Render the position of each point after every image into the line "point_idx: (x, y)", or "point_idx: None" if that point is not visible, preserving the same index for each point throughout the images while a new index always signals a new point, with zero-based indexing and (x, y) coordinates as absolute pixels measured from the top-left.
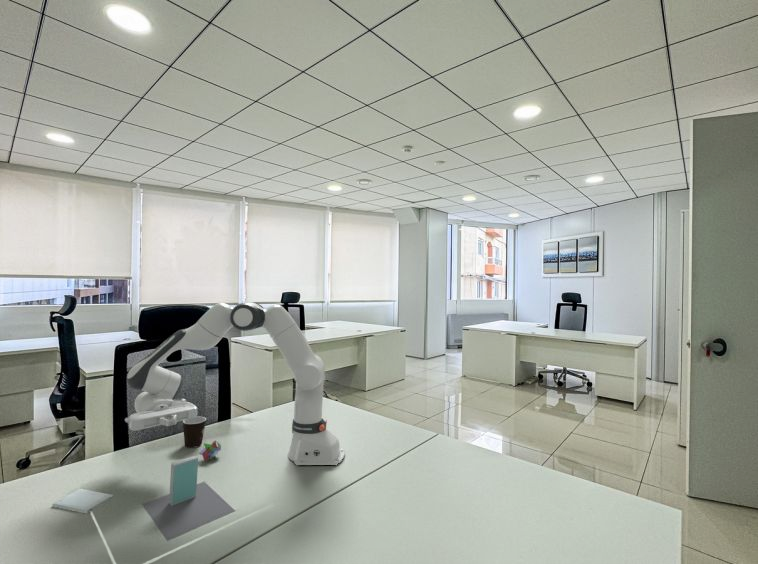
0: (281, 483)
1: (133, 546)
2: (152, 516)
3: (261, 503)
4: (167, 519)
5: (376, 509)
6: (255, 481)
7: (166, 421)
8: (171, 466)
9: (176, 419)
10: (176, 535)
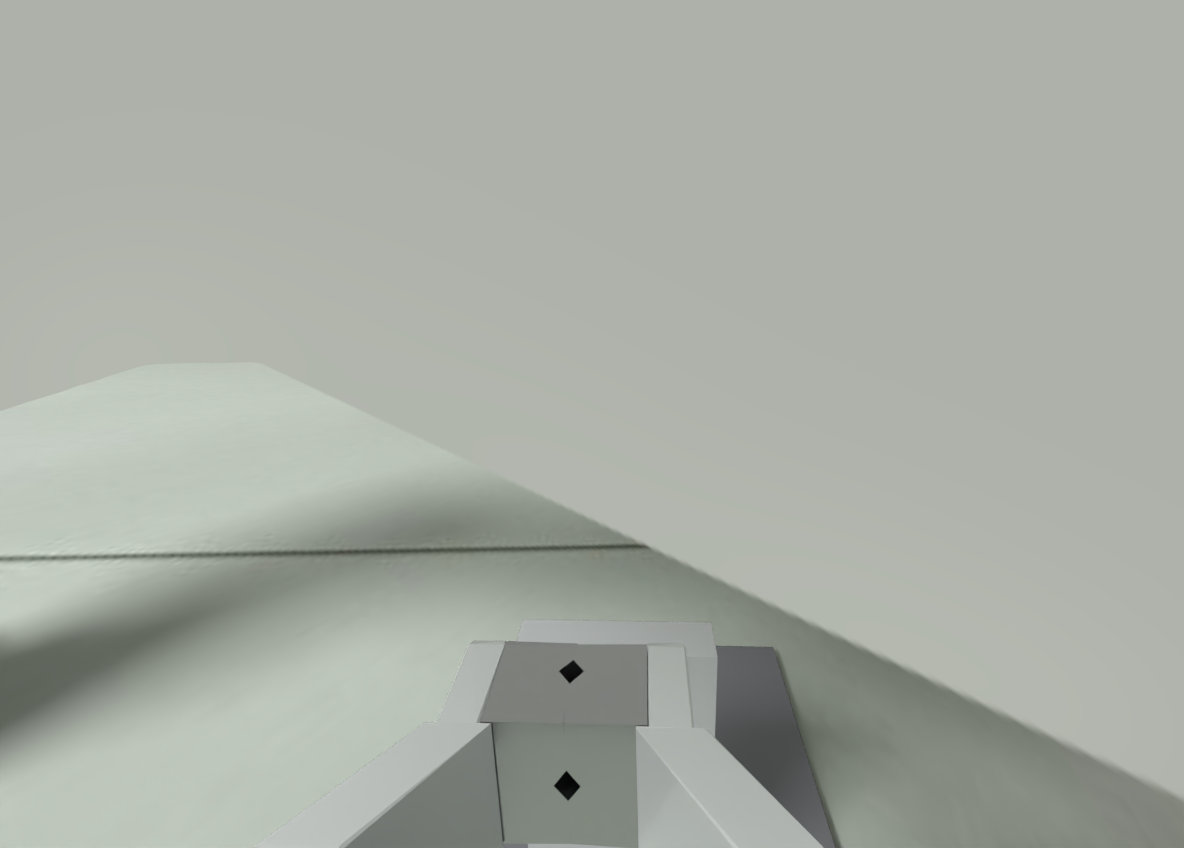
0: (181, 691)
1: (902, 709)
2: (824, 838)
3: (384, 638)
4: (751, 760)
5: (268, 486)
6: (193, 791)
7: (688, 685)
8: (715, 677)
9: (478, 642)
10: (737, 651)
